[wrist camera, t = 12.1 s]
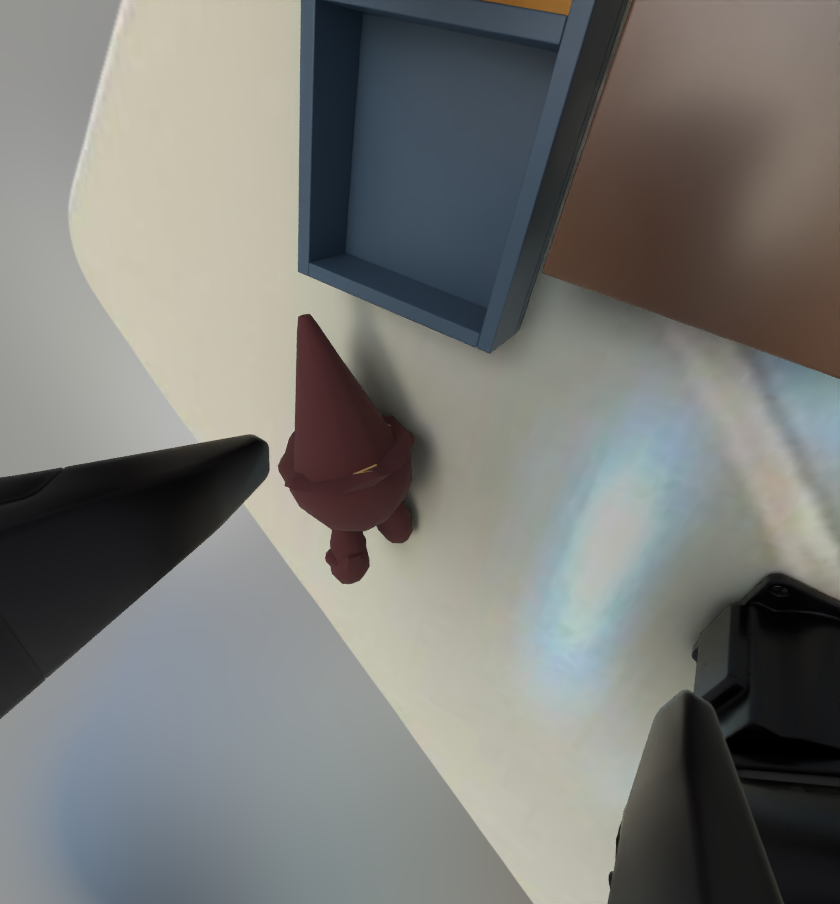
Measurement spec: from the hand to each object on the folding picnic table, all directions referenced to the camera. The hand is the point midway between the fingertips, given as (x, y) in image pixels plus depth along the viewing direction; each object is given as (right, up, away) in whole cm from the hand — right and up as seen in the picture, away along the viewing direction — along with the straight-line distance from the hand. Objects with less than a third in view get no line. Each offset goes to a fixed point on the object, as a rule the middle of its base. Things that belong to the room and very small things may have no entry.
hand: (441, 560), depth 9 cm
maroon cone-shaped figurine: (-2, +3, +18) cm, 18 cm away
